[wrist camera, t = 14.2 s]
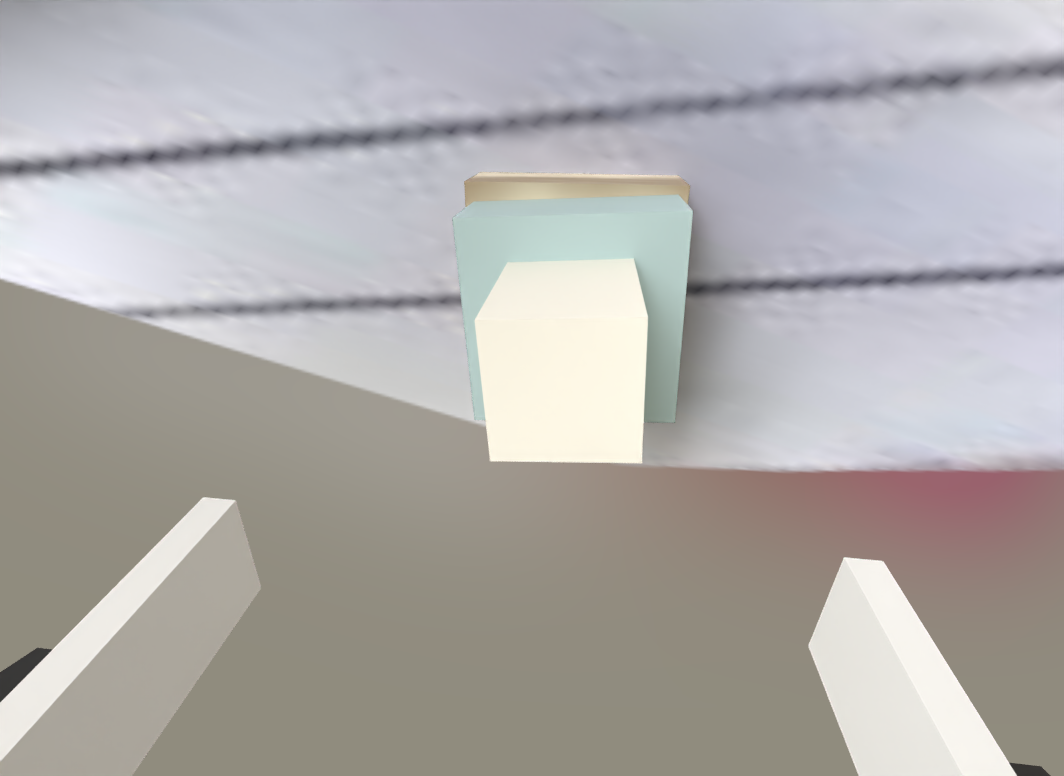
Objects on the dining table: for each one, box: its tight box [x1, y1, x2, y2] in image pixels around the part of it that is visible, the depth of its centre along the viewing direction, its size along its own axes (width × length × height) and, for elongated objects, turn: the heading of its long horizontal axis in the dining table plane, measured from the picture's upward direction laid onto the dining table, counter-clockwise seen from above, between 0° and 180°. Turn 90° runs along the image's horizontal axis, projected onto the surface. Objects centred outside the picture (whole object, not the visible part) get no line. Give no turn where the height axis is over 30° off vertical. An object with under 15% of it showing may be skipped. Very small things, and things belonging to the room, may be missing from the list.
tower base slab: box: [464, 172, 690, 207], centre depth 34 cm, size 12×12×5 cm
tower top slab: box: [452, 195, 693, 423], centre depth 30 cm, size 11×11×5 cm
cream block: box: [474, 258, 648, 463], centre depth 24 cm, size 6×6×8 cm
